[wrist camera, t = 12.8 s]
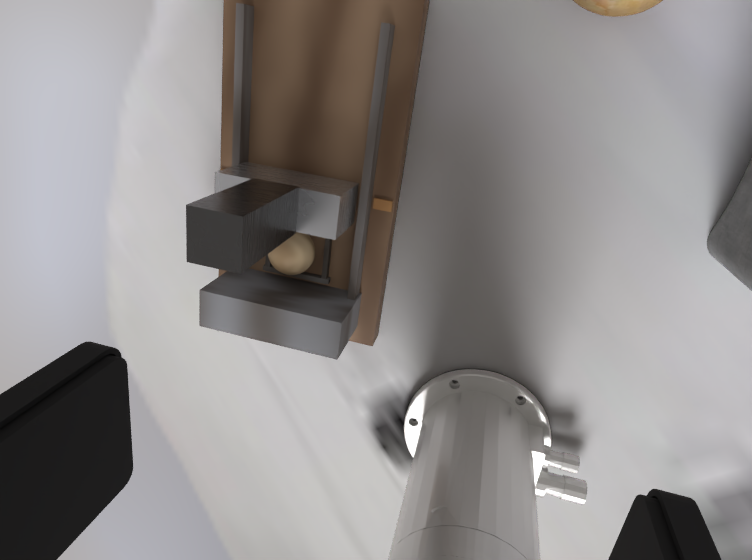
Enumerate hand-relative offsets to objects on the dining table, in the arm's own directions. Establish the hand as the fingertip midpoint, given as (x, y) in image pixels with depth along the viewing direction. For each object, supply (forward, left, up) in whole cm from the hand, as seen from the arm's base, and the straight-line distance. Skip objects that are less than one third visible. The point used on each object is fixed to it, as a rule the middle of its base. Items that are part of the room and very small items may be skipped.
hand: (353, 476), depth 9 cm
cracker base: (+12, +2, -32) cm, 35 cm away
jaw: (+12, +3, -29) cm, 32 cm away
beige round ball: (+12, +8, -28) cm, 32 cm away
